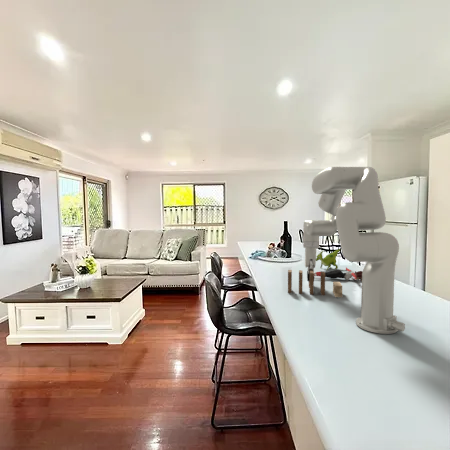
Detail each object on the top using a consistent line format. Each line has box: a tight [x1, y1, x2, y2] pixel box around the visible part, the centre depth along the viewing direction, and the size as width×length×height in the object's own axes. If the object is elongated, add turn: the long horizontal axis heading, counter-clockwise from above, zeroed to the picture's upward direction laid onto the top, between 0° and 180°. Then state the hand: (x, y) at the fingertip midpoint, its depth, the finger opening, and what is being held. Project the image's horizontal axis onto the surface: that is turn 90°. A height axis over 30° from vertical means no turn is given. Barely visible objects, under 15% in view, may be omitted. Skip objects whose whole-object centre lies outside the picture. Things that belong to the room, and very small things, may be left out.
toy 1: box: [316, 248, 341, 271], centre depth 193 cm, size 8×21×15 cm, turn 115°
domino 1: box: [287, 269, 293, 294], centre depth 140 cm, size 2×5×10 cm, turn 166°
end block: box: [332, 281, 343, 298], centre depth 134 cm, size 3×8×5 cm, turn 166°
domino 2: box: [298, 270, 304, 295], centre depth 138 cm, size 2×5×10 cm, turn 166°
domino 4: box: [309, 271, 315, 296], centre depth 137 cm, size 2×5×10 cm, turn 166°
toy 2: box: [314, 267, 363, 282], centre depth 164 cm, size 28×6×30 cm
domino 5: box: [320, 271, 326, 296], centre depth 136 cm, size 2×5×10 cm, turn 166°
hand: (310, 279), depth 149 cm, fingers closed on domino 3, 4 cm apart
